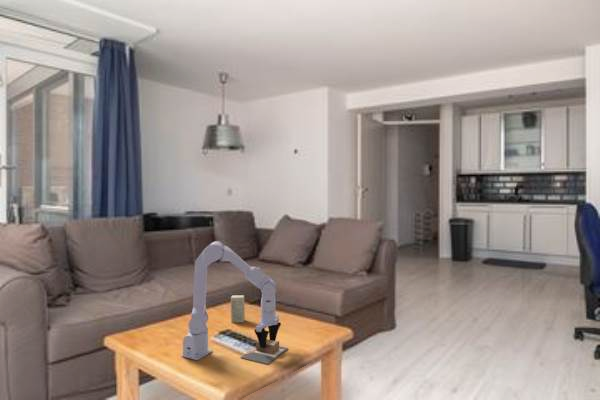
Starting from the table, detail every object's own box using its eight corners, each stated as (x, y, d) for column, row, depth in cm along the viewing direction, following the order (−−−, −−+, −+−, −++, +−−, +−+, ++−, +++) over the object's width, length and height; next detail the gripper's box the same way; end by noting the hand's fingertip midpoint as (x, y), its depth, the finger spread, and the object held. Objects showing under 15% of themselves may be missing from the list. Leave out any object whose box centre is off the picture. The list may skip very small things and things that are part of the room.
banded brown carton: (255, 350, 161) (255, 341, 161) (261, 346, 165) (261, 337, 165) (273, 354, 157) (273, 345, 157) (279, 350, 161) (279, 341, 161)
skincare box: (244, 319, 199) (245, 294, 198) (243, 322, 194) (244, 297, 194) (231, 319, 198) (231, 294, 198) (230, 322, 194) (230, 297, 194)
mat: (267, 364, 150) (267, 363, 150) (240, 358, 155) (240, 357, 155) (288, 349, 164) (288, 348, 164) (262, 343, 169) (262, 342, 169)
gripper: (267, 316, 152) (267, 352, 153) (285, 306, 165) (285, 339, 166) (251, 314, 155) (251, 349, 156) (270, 304, 168) (270, 336, 169)
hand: (267, 344), depth 161 cm, fingers open, 7 cm apart
